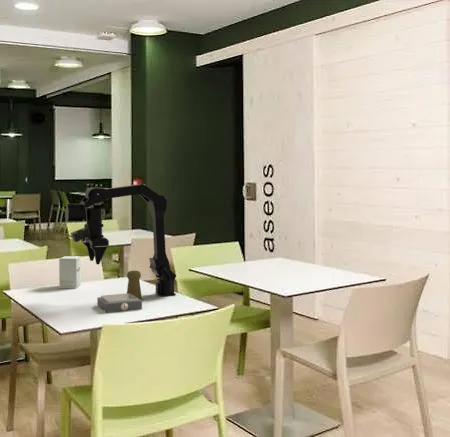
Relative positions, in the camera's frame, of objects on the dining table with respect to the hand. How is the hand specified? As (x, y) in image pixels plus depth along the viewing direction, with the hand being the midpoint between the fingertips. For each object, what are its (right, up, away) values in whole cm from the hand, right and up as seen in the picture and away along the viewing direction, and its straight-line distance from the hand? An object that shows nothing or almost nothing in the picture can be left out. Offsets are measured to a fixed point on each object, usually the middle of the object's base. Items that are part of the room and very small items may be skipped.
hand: (94, 262), depth 232 cm
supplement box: (-16, -12, +28) cm, 35 cm away
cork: (+14, -15, +5) cm, 21 cm away
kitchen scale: (+11, -16, -9) cm, 21 cm away
